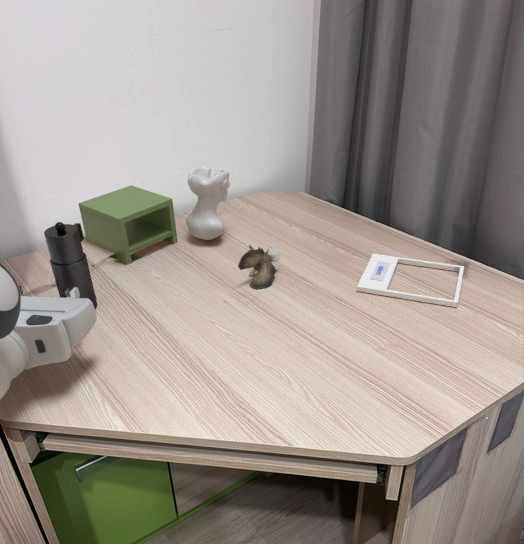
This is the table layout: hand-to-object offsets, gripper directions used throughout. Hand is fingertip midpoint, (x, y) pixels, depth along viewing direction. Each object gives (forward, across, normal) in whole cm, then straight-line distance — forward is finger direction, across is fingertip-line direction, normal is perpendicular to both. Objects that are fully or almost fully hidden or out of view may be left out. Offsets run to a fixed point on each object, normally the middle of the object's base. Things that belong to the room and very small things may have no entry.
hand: (46, 290), depth 85 cm
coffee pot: (+11, 0, -9) cm, 14 cm away
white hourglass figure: (+41, +19, -9) cm, 46 cm away
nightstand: (+36, +2, -9) cm, 37 cm away
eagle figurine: (+23, +31, -9) cm, 40 cm away
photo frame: (+23, +61, -9) cm, 66 cm away
